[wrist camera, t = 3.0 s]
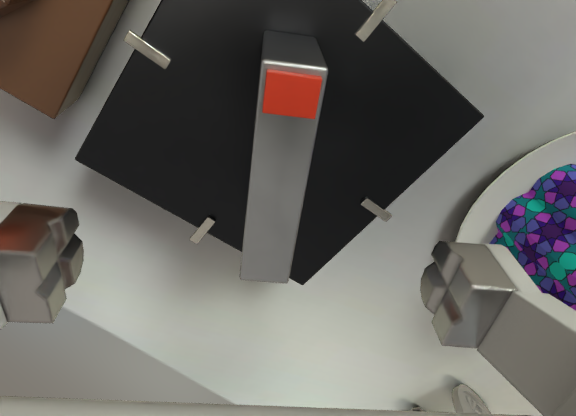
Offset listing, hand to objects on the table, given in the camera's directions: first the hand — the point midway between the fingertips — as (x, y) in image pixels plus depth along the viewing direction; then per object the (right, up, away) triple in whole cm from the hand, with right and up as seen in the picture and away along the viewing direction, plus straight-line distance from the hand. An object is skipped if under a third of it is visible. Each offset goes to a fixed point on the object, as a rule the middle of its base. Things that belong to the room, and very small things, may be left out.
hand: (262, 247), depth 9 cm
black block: (0, +5, +7) cm, 9 cm away
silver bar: (0, +3, +5) cm, 6 cm away
